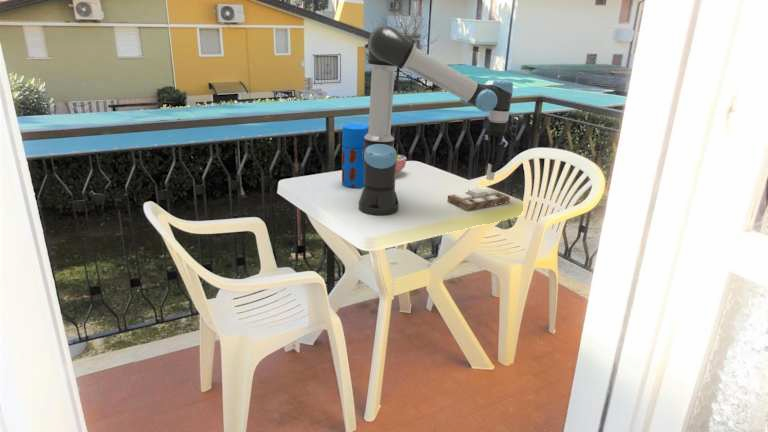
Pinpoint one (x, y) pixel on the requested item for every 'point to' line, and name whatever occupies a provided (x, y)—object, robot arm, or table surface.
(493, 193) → the button right
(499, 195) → the button board
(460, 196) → the button left
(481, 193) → the button middle
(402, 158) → the cell model
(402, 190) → the table surface
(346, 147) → the thermos
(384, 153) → the robot arm
